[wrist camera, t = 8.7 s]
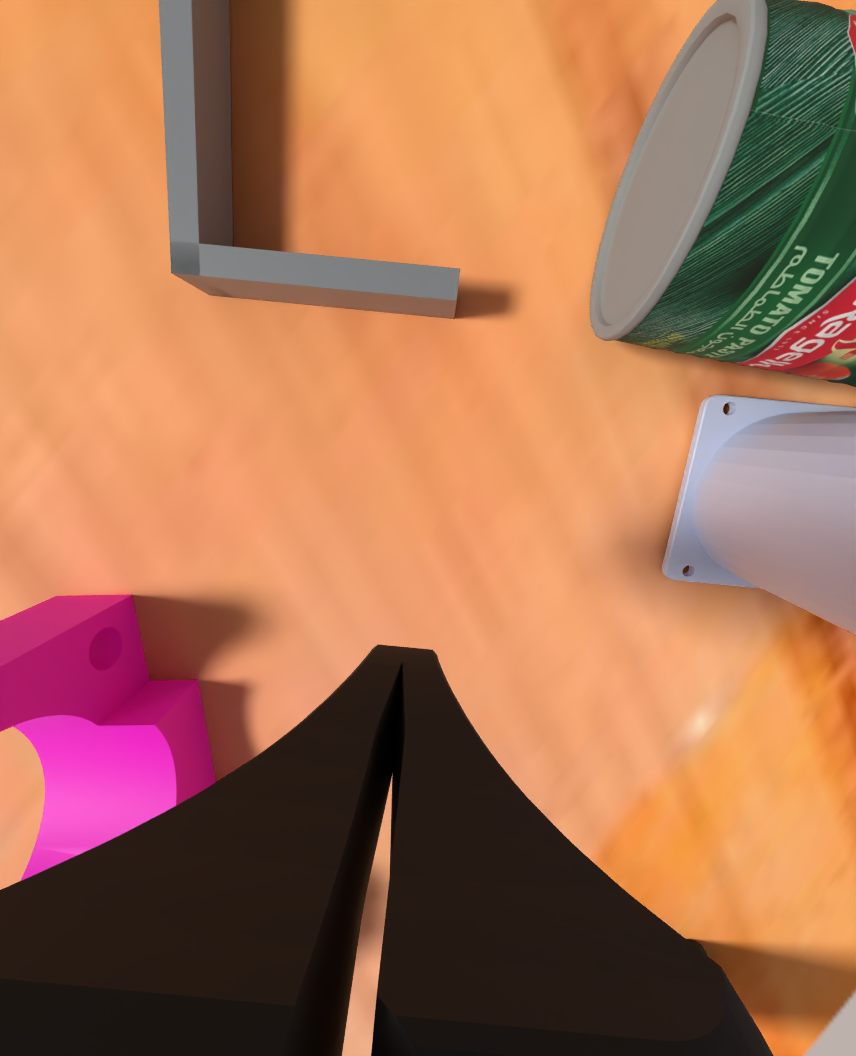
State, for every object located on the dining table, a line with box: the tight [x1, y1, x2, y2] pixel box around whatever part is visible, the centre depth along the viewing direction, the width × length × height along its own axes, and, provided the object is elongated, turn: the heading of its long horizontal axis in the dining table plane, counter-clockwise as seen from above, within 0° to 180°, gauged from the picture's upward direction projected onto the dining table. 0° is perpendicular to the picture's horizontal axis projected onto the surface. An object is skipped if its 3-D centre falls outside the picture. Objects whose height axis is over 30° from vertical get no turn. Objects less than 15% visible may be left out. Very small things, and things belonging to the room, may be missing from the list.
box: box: [159, 0, 460, 319], centre depth 14 cm, size 10×14×2 cm
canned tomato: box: [590, 0, 856, 387], centre depth 13 cm, size 8×8×11 cm
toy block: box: [0, 595, 216, 881], centre depth 19 cm, size 15×6×8 cm, turn 2°
